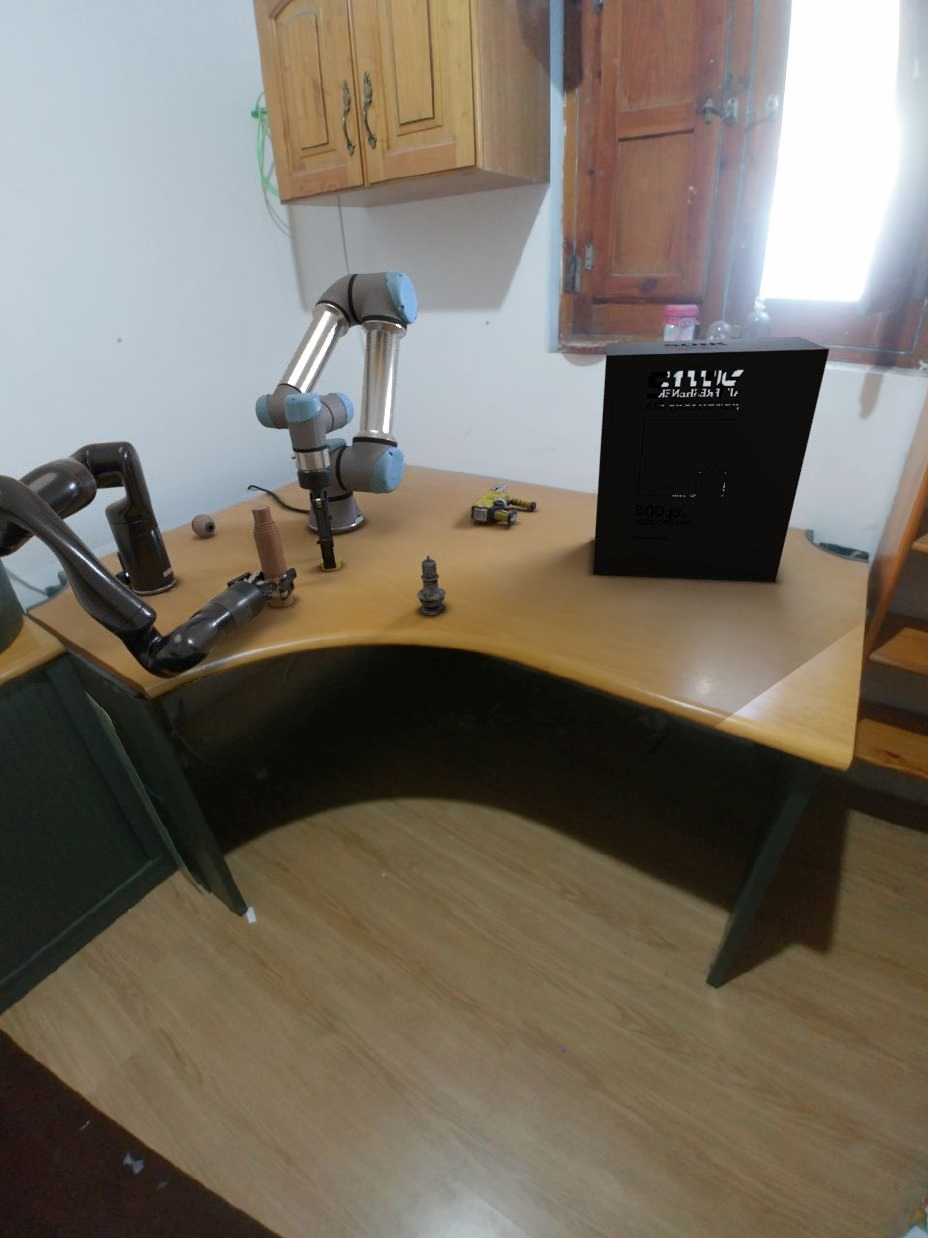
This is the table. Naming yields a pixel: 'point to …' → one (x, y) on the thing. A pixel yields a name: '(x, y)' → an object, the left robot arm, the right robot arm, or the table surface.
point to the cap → (333, 568)
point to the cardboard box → (703, 455)
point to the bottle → (269, 549)
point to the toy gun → (498, 506)
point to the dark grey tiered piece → (431, 589)
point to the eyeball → (203, 525)
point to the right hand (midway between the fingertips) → (329, 557)
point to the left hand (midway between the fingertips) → (282, 570)
